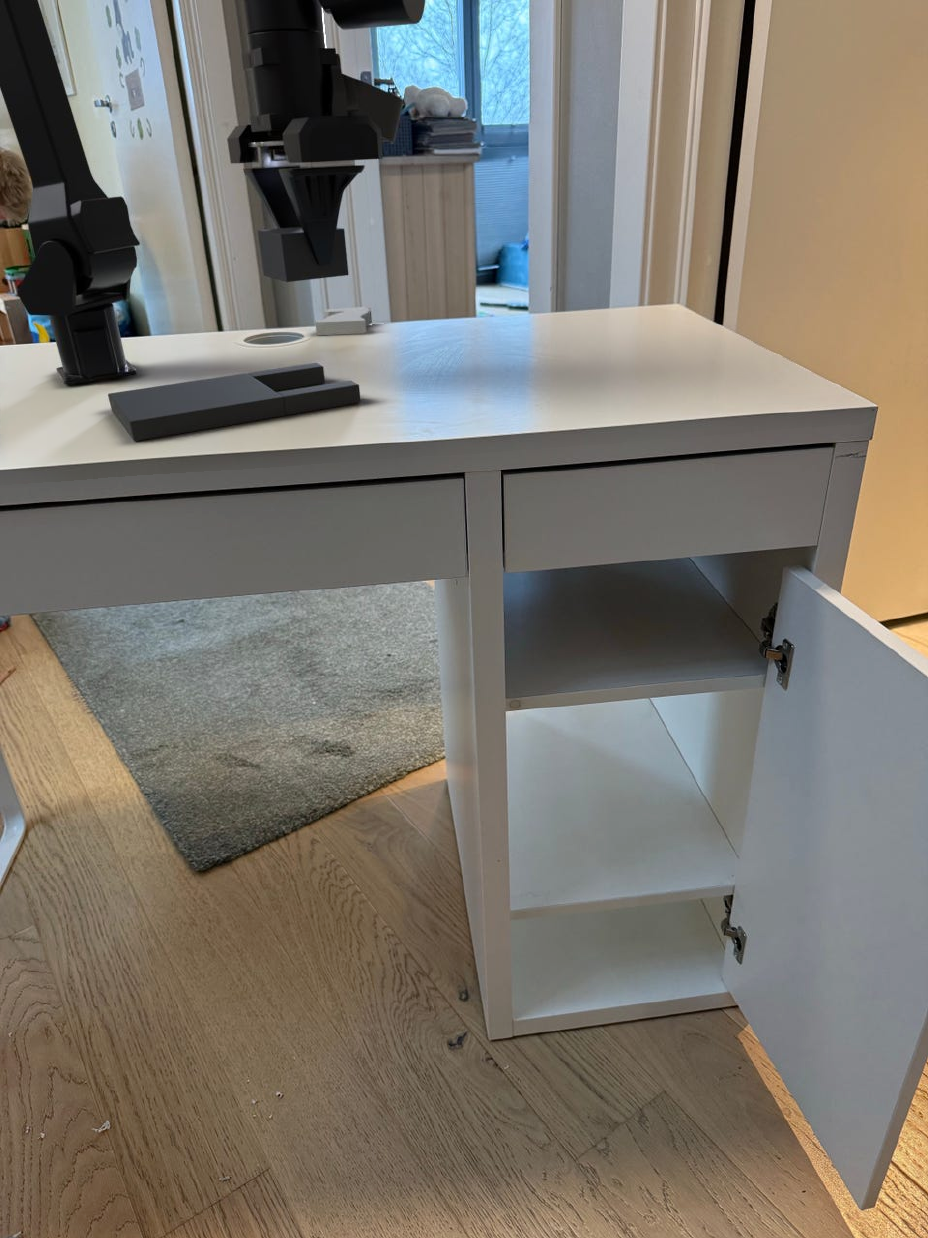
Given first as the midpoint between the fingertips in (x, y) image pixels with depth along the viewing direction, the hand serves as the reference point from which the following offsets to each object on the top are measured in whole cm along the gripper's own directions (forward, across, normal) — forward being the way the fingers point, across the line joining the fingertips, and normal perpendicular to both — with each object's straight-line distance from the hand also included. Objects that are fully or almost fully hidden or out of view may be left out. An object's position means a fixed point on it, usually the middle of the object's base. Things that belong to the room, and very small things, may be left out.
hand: (312, 261), depth 71 cm
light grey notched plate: (+9, +24, -15) cm, 30 cm away
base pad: (+10, -3, +9) cm, 14 cm away
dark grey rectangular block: (+1, 0, +1) cm, 1 cm away
